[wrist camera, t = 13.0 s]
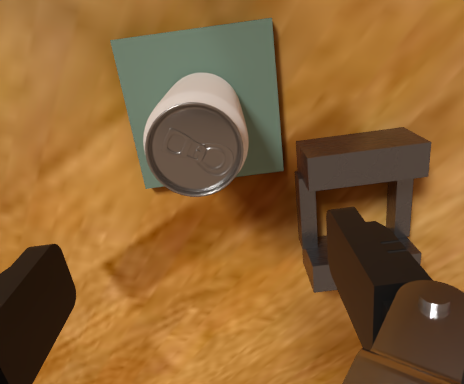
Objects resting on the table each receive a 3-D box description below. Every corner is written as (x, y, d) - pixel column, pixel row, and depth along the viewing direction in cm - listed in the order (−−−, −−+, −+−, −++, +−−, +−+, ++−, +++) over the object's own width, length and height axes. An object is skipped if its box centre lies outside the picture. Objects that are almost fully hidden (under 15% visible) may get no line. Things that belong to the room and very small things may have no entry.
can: (222, 157, 34) (223, 218, 23) (154, 129, 33) (122, 179, 22) (252, 91, 32) (270, 123, 21) (181, 58, 30) (160, 74, 20)
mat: (270, 18, 31) (271, 17, 30) (281, 166, 36) (283, 170, 35) (114, 40, 31) (110, 40, 30) (148, 183, 36) (145, 188, 35)
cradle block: (406, 126, 35) (435, 141, 30) (398, 250, 40) (422, 279, 35) (292, 141, 35) (303, 158, 30) (300, 262, 40) (310, 293, 36)
